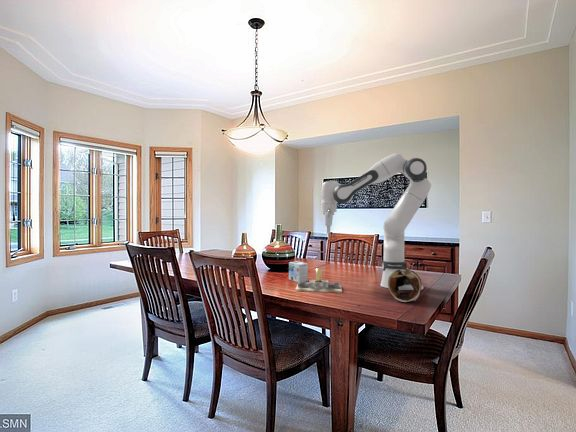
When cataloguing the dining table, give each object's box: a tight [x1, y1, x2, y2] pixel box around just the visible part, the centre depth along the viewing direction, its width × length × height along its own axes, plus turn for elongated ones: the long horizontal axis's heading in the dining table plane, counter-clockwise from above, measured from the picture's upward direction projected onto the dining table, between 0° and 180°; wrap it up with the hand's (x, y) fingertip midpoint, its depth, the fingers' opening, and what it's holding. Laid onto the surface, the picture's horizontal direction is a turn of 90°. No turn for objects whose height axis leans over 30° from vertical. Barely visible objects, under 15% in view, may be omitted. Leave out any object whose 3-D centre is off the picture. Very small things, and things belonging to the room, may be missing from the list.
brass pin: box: [315, 267, 323, 283], centre depth 182 cm, size 3×3×10 cm
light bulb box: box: [288, 260, 309, 283], centre depth 204 cm, size 11×7×11 cm, turn 37°
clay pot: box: [387, 268, 423, 303], centre depth 168 cm, size 15×15×25 cm
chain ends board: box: [294, 279, 343, 294], centre depth 182 cm, size 24×12×4 cm, turn 83°
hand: (328, 233), depth 195 cm, fingers open, 8 cm apart
